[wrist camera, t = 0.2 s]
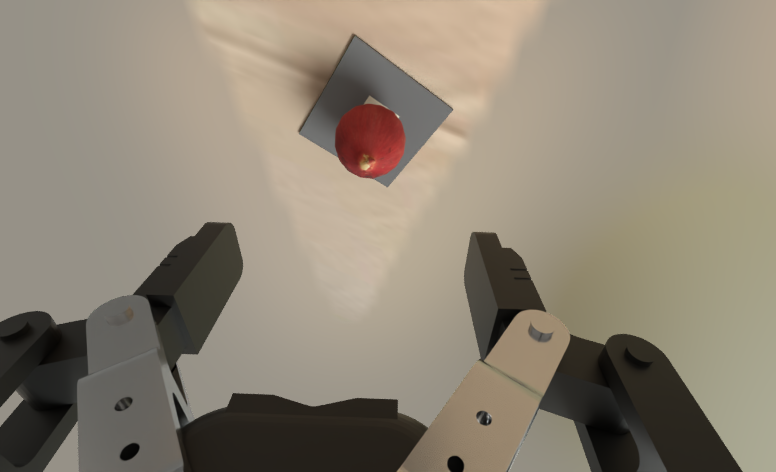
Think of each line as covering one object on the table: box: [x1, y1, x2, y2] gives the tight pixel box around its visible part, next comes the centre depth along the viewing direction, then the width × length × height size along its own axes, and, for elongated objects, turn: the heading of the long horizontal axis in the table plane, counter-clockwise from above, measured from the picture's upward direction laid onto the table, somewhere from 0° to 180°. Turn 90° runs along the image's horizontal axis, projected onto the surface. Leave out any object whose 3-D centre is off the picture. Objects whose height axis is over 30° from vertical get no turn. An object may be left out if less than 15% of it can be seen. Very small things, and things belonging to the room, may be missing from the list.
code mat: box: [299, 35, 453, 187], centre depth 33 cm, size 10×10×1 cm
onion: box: [335, 104, 406, 179], centre depth 30 cm, size 6×6×8 cm
